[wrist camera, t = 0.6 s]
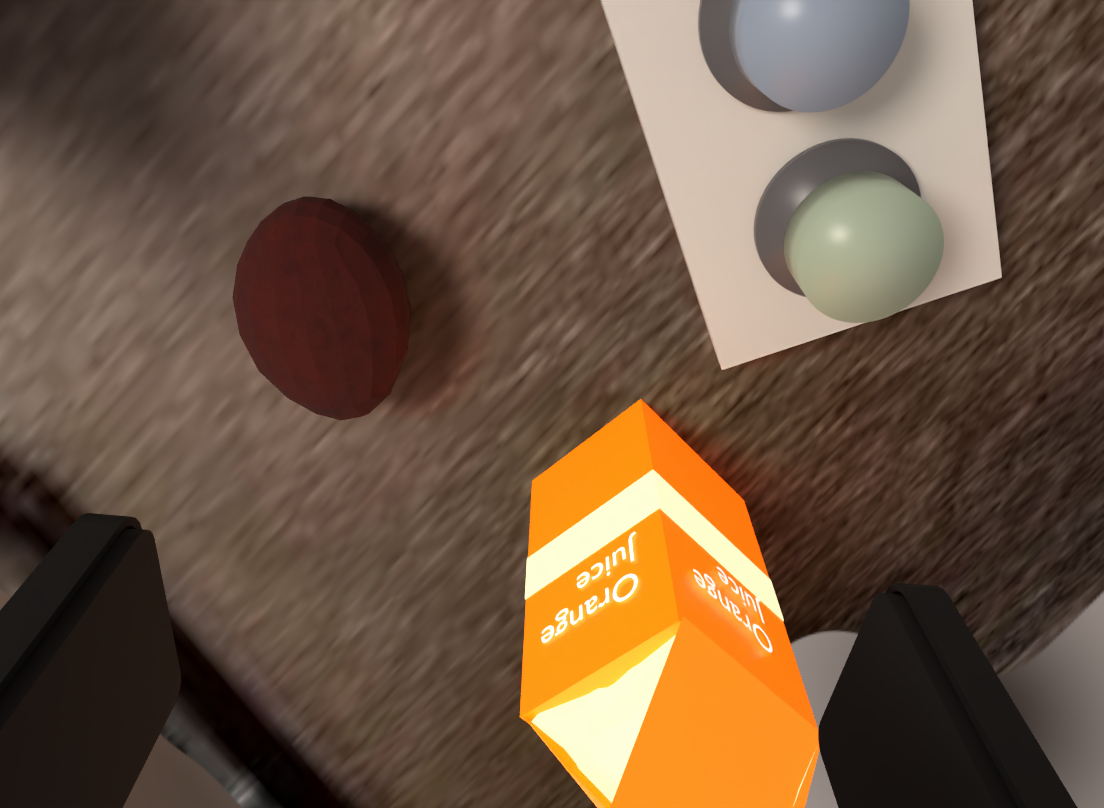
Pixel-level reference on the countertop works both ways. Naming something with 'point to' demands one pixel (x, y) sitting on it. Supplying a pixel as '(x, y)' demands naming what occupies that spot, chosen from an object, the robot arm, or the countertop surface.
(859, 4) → the slate button
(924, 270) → the sage button
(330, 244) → the potato
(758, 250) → the button panel
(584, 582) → the orange juice
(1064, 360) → the countertop surface
